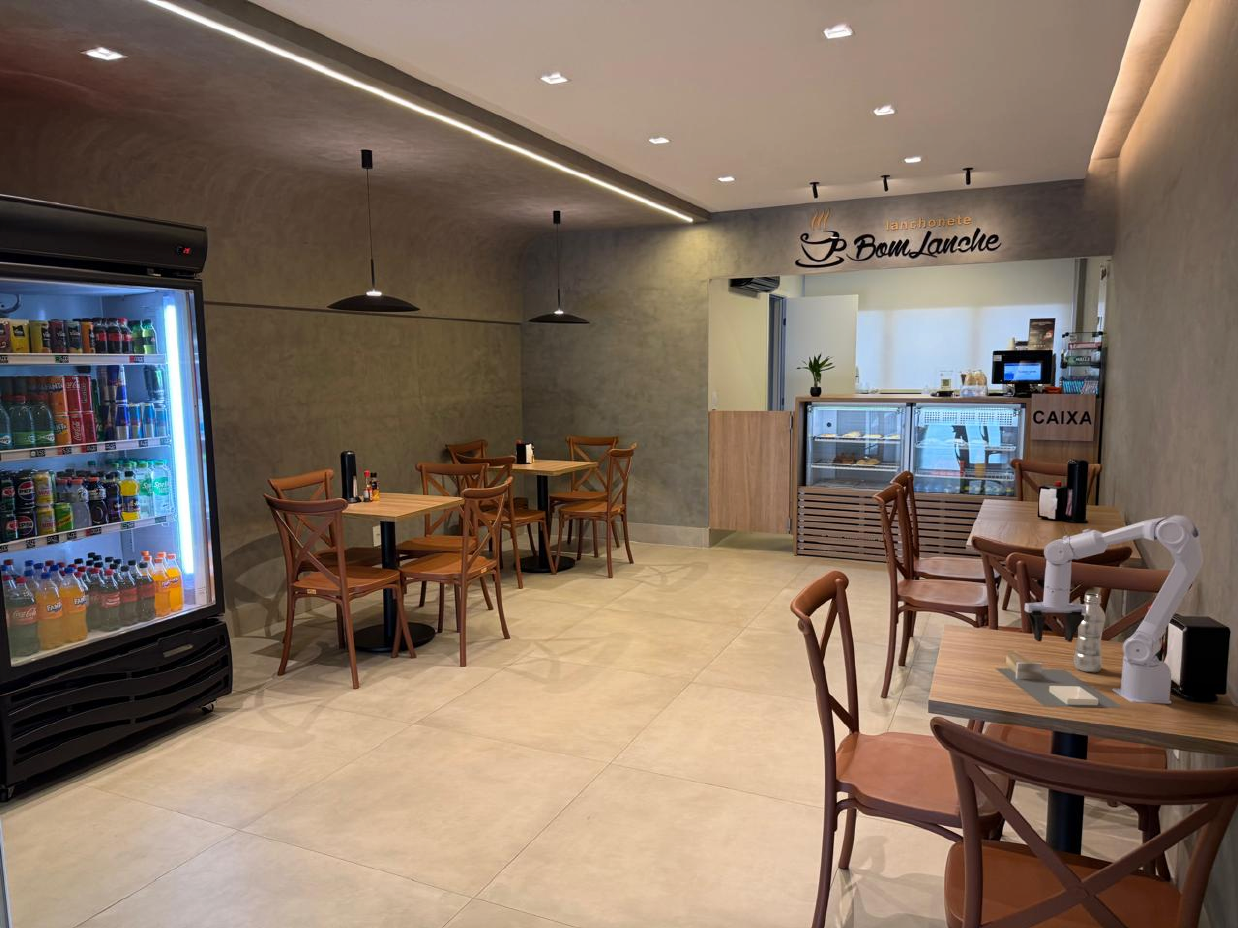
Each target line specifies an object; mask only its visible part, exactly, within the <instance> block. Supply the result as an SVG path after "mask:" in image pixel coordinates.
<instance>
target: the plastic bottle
mask: <svg viewBox="0 0 1238 928" xmlns="http://www.w3.org/2000/svg"><path fill="white" fill-rule="evenodd" d="M1083 601H1084V603H1083V605H1085V606H1087V611H1086V614H1082V615H1084V620H1083V621H1082V622H1081V624H1080V625H1079V627H1078V628H1077V643H1076V648H1075V651H1074V654H1073V655H1074V656H1073V665H1074V666H1075V669H1077V670H1079V671H1082V672H1086V673H1099V671H1101V669H1102V666H1103V657H1102V636H1103V631H1104V626H1105V622H1106V614H1105V611H1104V609H1103V608H1102V607H1101V605H1100V604H1102V595H1100V594H1097V593H1091V592H1090V593H1084V598H1083Z"/></svg>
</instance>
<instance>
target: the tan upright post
mask: <svg viewBox="0 0 1238 928" xmlns="http://www.w3.org/2000/svg"><path fill="white" fill-rule="evenodd" d="M1005 655H1006V658H1005V659H1006V660H1005V666H1006V667H1007V668H1010V669H1011V670H1012V671H1014V672H1015V673H1016V679H1034V680H1041V677H1042V669H1043V663H1042V662H1033V661H1031V660H1030V659H1029V658H1027V657H1026V656H1024V655H1023V654H1022V653H1020V652H1019V651H1017V650H1006V654H1005Z"/></svg>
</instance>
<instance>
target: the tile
mask: <svg viewBox="0 0 1238 928" xmlns="http://www.w3.org/2000/svg"><path fill="white" fill-rule="evenodd" d="M1049 692H1050V693H1051V694H1052V695H1054V696H1055V697H1056V698H1058V699H1059V700H1061V701H1062V702H1063V703H1065V704H1066V705H1073V706H1097V705H1098V699H1097V698H1096V697H1094V696H1093V695H1091V694H1090V693H1088V692H1087V691H1085V690H1084V689H1082V688H1081V687H1079V686H1050V687H1049Z"/></svg>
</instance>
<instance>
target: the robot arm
mask: <svg viewBox="0 0 1238 928" xmlns="http://www.w3.org/2000/svg"><path fill="white" fill-rule="evenodd" d="M1166 518H1167V519H1166ZM1200 535H1201V533H1200V530H1199V529H1198V528H1197V526H1196V525H1195V523H1194V522H1193V519H1191V518H1189V517H1188V516H1185V515H1182V514H1175V515H1171V516H1169V517H1166V516H1165V517H1158V518H1152V519H1146V520H1143V521H1139V522H1136V523H1132V524H1129V525H1126V526H1122V527H1119V528H1116V529H1113V530H1109V531H1107V532H1106V531H1105V532H1102V531H1099V530H1097V529H1093V530H1091V529H1090V528H1087V529H1084V530H1082V533H1081V532H1080V533H1078V534H1075V535H1070V536H1069V535H1064V536H1062V538H1060V539H1056V540H1053V541H1050V542H1049V543H1048V544H1047V545H1046V546H1045V547H1044V549H1043V555H1044V558H1045V560H1046V561H1045V562H1046V566H1045V568H1044V570H1045V571H1044V583H1043V584H1044V585H1043V586H1044V587H1043V599H1042V600H1043V601H1039V602H1026V603H1024V611H1025V612H1026V614H1027V617H1028V619H1029V621H1030V624H1031V628H1032V632H1033V637H1034V640H1035V641H1037V642H1042V640H1043V630H1044V625H1045V621H1046V619H1047V618H1046V616H1045V615H1043V613H1063V615H1064V622H1065V623H1064V624H1065V626H1064V627H1065V628H1064V640H1065V641H1066V642H1069V643H1072V642H1073V639H1074V637H1075V634H1076V632H1077V631H1078V627H1079V625H1080V624H1081V622H1082V621H1083V620H1084V615H1082V614H1086V611H1087V606H1085V605H1084V603H1083V604H1081V603H1071V602H1070V596H1071V593H1070V592H1071V580H1072V579H1071V578H1072V560H1081V559H1083V558H1088V557H1091V556H1094V555H1099V554H1103V553H1105V551H1106V550H1107V548H1108V547H1109V546H1111V545H1117V544H1121V543H1124V542H1125V543H1126V542H1128V541H1132V540H1138V539H1146V540H1149V541H1153V542H1155V541H1159V543H1160V544H1161V545H1162V546H1164V547H1165V548H1166V549H1167V550H1168V551H1169V553H1170V554H1171V556H1172V559H1173V560H1174V565H1173V567H1172V569H1171V570H1170V572H1169V574H1168V576H1167V578H1166V579H1165V581H1164V582H1163V584H1162V586H1161V588H1160V590H1159V592H1158V593H1157V595H1156V597H1155V599H1154V600H1153V602H1152V603H1151V606H1150V608H1149V609H1148V611H1147V613H1146V615H1145V616H1144V619H1143V620H1142V621H1141V623H1140V624H1139V626H1138V628H1137V629H1136V630H1135V632H1133V633H1132V635H1131V636H1130V637H1128V638H1127V639H1125V640H1124V642H1123V644H1122V653H1123V654H1124V655H1123V658H1122V669H1121V679H1120V680H1121V681H1120V688H1112V690H1111V691H1113V692H1115V693H1116V694H1118V695H1119V696H1121V697H1122V698H1124V699H1126V700H1127V701H1129V702H1131V703H1145V704H1148V703H1150V704H1151V703H1152V704H1155V703H1156V704H1167V705H1168V704H1169V705H1170V704H1172V700H1170V698H1171V697H1170V696H1171V687H1172V672H1171V669H1170V667H1169V665H1168V663H1166V662H1164V661H1162V660H1159V657H1158V656H1157V655H1156V654H1158V653H1159V652H1160V650H1162V649H1161V648H1162V642H1163V641H1162V638H1163V636H1164V634H1165V632H1166V629H1167V627H1168V625H1169V624H1170V622H1171V620H1172V618H1173V617H1174V615H1175V613H1176V611H1177V610H1178V608H1179V606H1180V604H1181V603H1182V601H1183V599H1184V597H1185V595H1186V594H1187V592H1188V591H1189V588H1190V587H1191V585H1192V583H1193V582H1194V580H1195V578H1196V576H1197V574H1198V573H1199V571H1200V569H1202V566H1203V564H1204V556H1203V555H1204V554H1203V550H1202V544H1201V536H1200Z"/></svg>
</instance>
